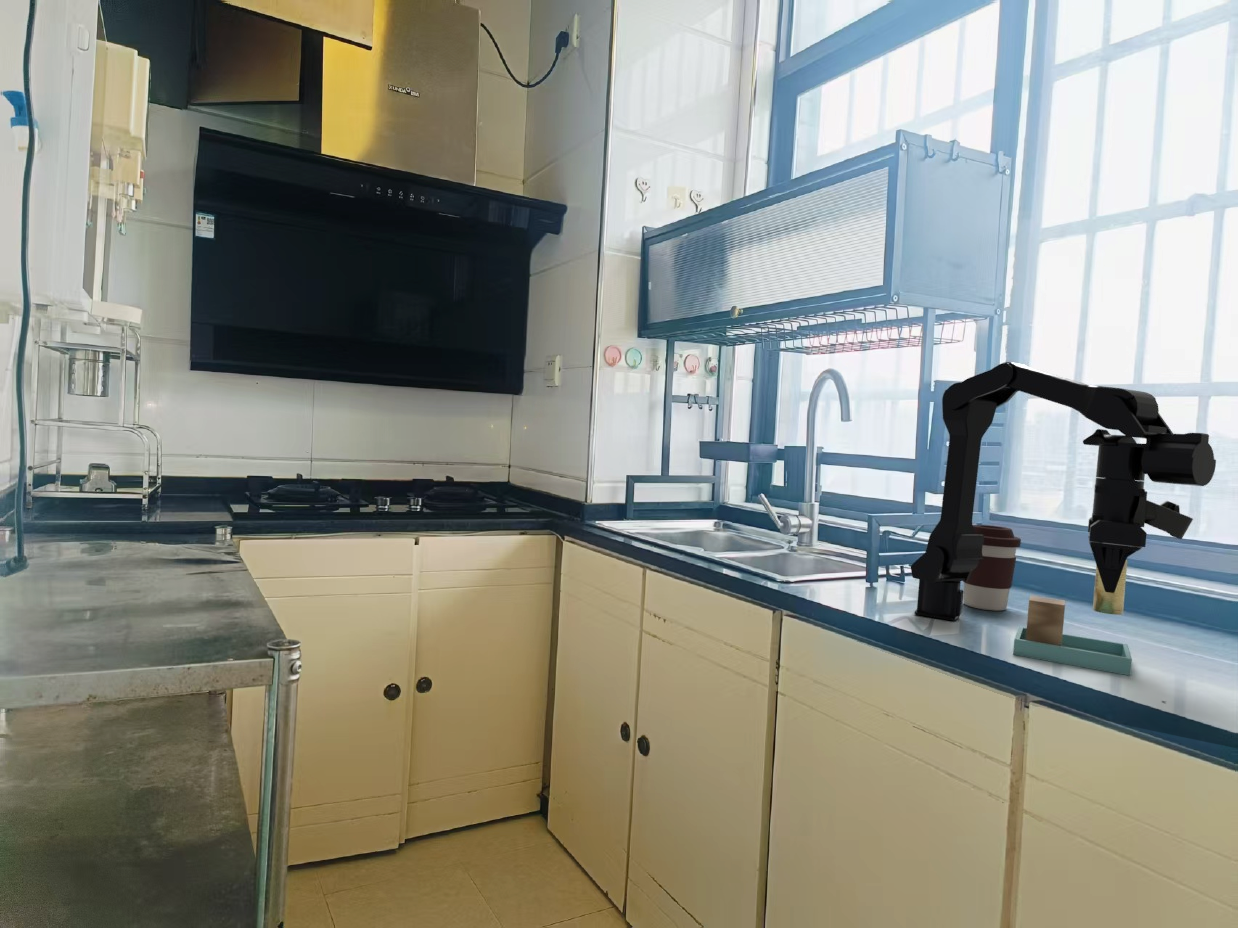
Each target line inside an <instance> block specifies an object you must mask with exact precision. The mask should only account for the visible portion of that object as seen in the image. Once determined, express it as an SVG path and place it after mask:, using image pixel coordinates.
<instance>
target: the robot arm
mask: <svg viewBox="0 0 1238 928" xmlns="http://www.w3.org/2000/svg"><path fill="white" fill-rule="evenodd" d="M1018 392H1021V393H1025V394H1028V395H1031V396H1034V397H1037V398H1041V399H1043V400H1046V401H1049V402H1053V403H1055V404H1059V405H1063V406H1065V407H1068V408H1071V409H1073V410H1075V411H1077V412H1078V413H1080V414H1081V415H1082V416H1083V417H1084V418H1086V419H1088V420H1090V421H1091V422H1093V423H1095V424H1097V425H1099V426H1100V427H1103V428H1105V429H1102V428H1101V429H1099V428H1098V429H1096V430H1095V431H1094V432H1093V433H1092V434H1090V435H1089V436H1088V437H1086V438H1085V439H1083V440H1082V444H1083V445H1084V446H1093V447H1094V446H1097V447H1098V451H1097V453H1098V454H1097V461H1096V462H1097V463H1096V473H1095V484H1094V490H1093V491H1094V492H1093V494H1094V495H1093V504H1092V513H1091V517H1090V518H1088V525H1087V526H1088V527H1087V533H1088V534H1089V535H1088V543H1089V546H1090V549H1091V552H1092V554H1093V558H1094V559H1093V560H1094V561H1095V565H1097V568H1098V571H1099V574H1100V577H1101V580H1102V583H1103V586H1104V590H1105V592H1109V593H1114V592H1115V590H1116V587H1117V584H1118V581H1119V578H1120V576H1121V573H1122V570H1123V567H1124V564H1125V562H1126V560H1127V559H1128V558H1129V557H1130V556H1132V555H1133V554H1135V553H1137V552H1138V551H1140V550H1141V549H1142V548H1146V546H1147V545H1146V543H1147V532H1146V531H1145V530H1144V529H1143V528H1145V524H1146V525H1148V526H1151V527H1153V528H1156V529H1158V530H1160V531H1163V532H1165V533H1167V534H1169V535H1170V537H1174V538H1175V539H1178V540H1183V538H1184V536H1185V534H1186V532H1187V531H1188V529H1189V527H1190V526H1191V524H1192V522H1193V520H1194V518H1193V517H1190V516H1188V515H1186V514H1182V513H1181V512H1180V510H1181V509H1180V505H1179V504H1176V503H1174V502H1173V501H1172V502H1171V501H1169V500H1166V501H1164V502H1162V503H1160V504H1157V503H1155V502H1152V501H1150V500H1148V499H1147V498H1148V491H1146V490H1145V477H1146V475H1147V477H1148V479H1150V481H1152V482H1153V483H1159V484H1160V483H1161V484H1172V485H1173V484H1174V485H1182V486H1183V485H1184V486H1196V487H1205V486H1207V485H1208V484H1209V483H1210V482H1211V481H1212V479H1213V477H1214V475H1215V471H1216V464H1217V459H1215V454H1214V450H1213V448H1212V446H1211V444H1210V443H1209V439H1210V435H1209V434H1208V433H1203V432H1188V433H1173V431H1172V430H1171V428H1170V427H1169V426H1168V424H1167V422H1166V421H1165V419H1164V418H1163V417H1162V416H1161V414H1160V412H1159V411H1160V409H1159V404H1158V403H1157V400H1156V399H1157V398H1156V397H1155V396H1153V394H1151V393H1148V392H1145V391H1142V390H1141V391H1140V390H1133V389H1129V388H1121V387H1113V386H1102V385H1090V384H1087V383H1084V382H1080V381H1077V380H1073V379H1069V378H1067V377H1063V376H1060V375H1057V374H1056V375H1055V374H1052V373H1049V372H1046V371H1042V370H1038V369H1035V368H1033V367H1029V366H1028V365H1026V364H1022V363H1017V362H1011V361H1005V362H1002V363H1000V364H997V365H996V366H995V367H993V368H991V369H989V370H986V371H984V372H981V373H979V374H976V375H973V376H969V377H968V378H966V379H964V380H963V381H961V382H955V383H953V384H951V385H950V386H949V387H948V388H947V389H945V390H944V392H943V394H942V399H941V409H942V411H941V412H942V420H943V423H944V425H945V428H946V430H947V433H948V435H949V437H948V438H949V439H948V440H949V441H948V448H947V449H948V450H947V457H946V466H945V467H946V468H945V475H944V484H943V485H944V486H943V491H942V492H943V493H942V501H941V509H940V510H941V512H940V518H939V521H938V522H937V523H936V525H935V527H934V528H933V530H931V533H930V534H929V538H928V541H927V544H926V548H925V552H923V554H922V555H921V556H920V557H918V558H917V559H916V560H915V561H914V562H913V563H912V564H911V565H910V571H911V575H912V578H913V579H915V580H918V581H919V582H918V592H917V604H916V606H917V607H916V610H914V615H918V616H924V617H930V618H936V619H940V620H946V621H954V622H955V621H956V620H957V618H958V617H960V616H961V615H962V614H963V603H964V589H961V583H962V582H963V581H968V579H969V577H970V575H971V572H972V570H973V569H975V568H976V567H977V566H978V563H979V559H983V555H982V547H983V543H984V535H977V534H976V532H975V530H974V527H973V525H974V524H973V515H974V509H975V508H974V507H975V497H976V489H977V483H978V481H977V479H978V473H979V472H978V471H979V464H980V463H979V462H980V454H981V445H982V439H983V437H984V435H985V434H986V433H987V431H988V430H989V428H990V427H991V425H992V424H993V421H994V417H995V413H996V412H997V408H999V407H1000V406H1003V405H1004V404H1007V403H1008V402H1009V401H1011V399H1012V398H1013V397H1014V396H1015V395H1016V393H1018ZM1108 430H1113V431H1119V432H1120V433H1121V434H1111V433H1110V432H1109V431H1108ZM1135 438H1137V439H1146V441H1145V443H1140V442H1139V443H1138V442H1137V441H1136V439H1135Z"/></svg>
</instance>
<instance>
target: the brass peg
mask: <svg viewBox="0 0 1238 928" xmlns="http://www.w3.org/2000/svg"><path fill="white" fill-rule="evenodd" d="M1095 565H1096V564H1095ZM1095 567H1096V568H1095V579H1094V590H1093V604H1092V611H1093V612H1097V613H1100V614H1106V615H1114V616H1122V615H1123V614H1124V605H1125V594H1126V592H1125V591H1126V582H1127V570H1128V569H1127V568H1128V560H1127V559H1126V562H1125V564H1124V567H1123V570H1122V573H1121V576H1120V578H1119V581H1118V584H1117V587H1116V590H1115V592H1114V593H1109V592H1105V590H1104V586H1103V583H1102V580H1101V577H1100V574H1099V571H1098V568H1097V565H1096V566H1095Z"/></svg>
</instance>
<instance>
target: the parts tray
mask: <svg viewBox="0 0 1238 928" xmlns="http://www.w3.org/2000/svg"><path fill="white" fill-rule="evenodd" d="M1026 630H1027V627H1025V626H1018V628H1017V630H1016V631H1017V632H1016V634H1015V637H1014V640H1013V641H1014V642H1013V651H1012V655H1014V656H1020V657H1026V658H1031V659H1037V660H1043V661H1048V662H1052V663H1058V664H1063V665H1064V664H1065V665H1071V666H1075V667H1080V668H1081V667H1082V668H1087V669H1092V670H1097V671H1104V672H1109V673H1114V674H1119V675H1126V676H1131V673H1132V671H1131V670H1132V664H1133V663H1132V661H1133V659H1132V654H1131V651H1130V647H1129V645H1128V643H1122V642H1117V641H1116V642H1114V641H1110V640H1105V639H1104V640H1103V639H1098V638H1092V637H1085V636H1080V635H1072V634H1067V633H1063V634H1062V645H1061V646H1057V645H1051V644H1045V643H1039V642H1034V641H1028V640H1026Z"/></svg>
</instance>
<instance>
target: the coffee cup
mask: <svg viewBox="0 0 1238 928" xmlns="http://www.w3.org/2000/svg"><path fill="white" fill-rule="evenodd" d="M972 525H973V527H974V530H975V532H976V534H977V535H984V543H983V547H982V555H983V559H979V563H978V566H977V567H976V568H975V569H973V570H972V572H971V575H970V577H969V579H968V581H962V582H963V591H964V592H963V603H964V604H965V605H966V606H967V607H971V608H974V609H978V610H985V611H995V612H997V611H999V612H1000V611H1005V610H1006V609H1008V603H1009V597H1010V596H1009V594H1010V590H1011V589H1012V585H1013V579H1014V574H1015V567H1016V563H1017V557H1016V554H1017V553H1016V552H1017V548H1019V547H1021V543H1022V540H1021V538H1020V537H1017V536H1015V534H1014V532H1013V529H1012V528H1009V527H1006V526H998V525H987V524H972Z"/></svg>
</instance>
